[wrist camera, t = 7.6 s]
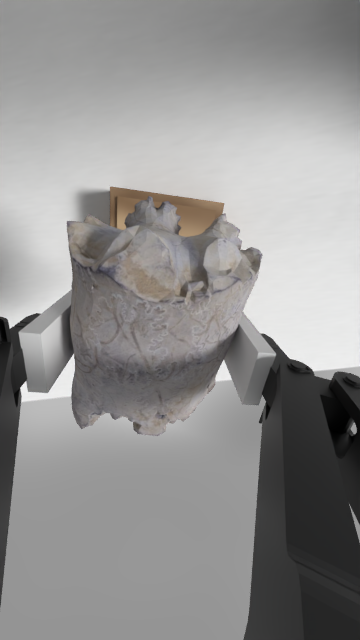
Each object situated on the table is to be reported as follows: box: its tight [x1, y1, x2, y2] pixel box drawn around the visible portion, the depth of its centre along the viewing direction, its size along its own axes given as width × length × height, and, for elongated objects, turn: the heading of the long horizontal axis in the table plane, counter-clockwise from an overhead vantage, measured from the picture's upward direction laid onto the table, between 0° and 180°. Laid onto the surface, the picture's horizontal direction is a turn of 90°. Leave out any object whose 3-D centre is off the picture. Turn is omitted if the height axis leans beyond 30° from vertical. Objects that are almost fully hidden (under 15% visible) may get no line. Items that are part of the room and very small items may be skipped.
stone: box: [67, 196, 262, 436], centre depth 12 cm, size 8×12×7 cm, turn 169°
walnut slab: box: [110, 187, 224, 237], centre depth 29 cm, size 16×12×4 cm
